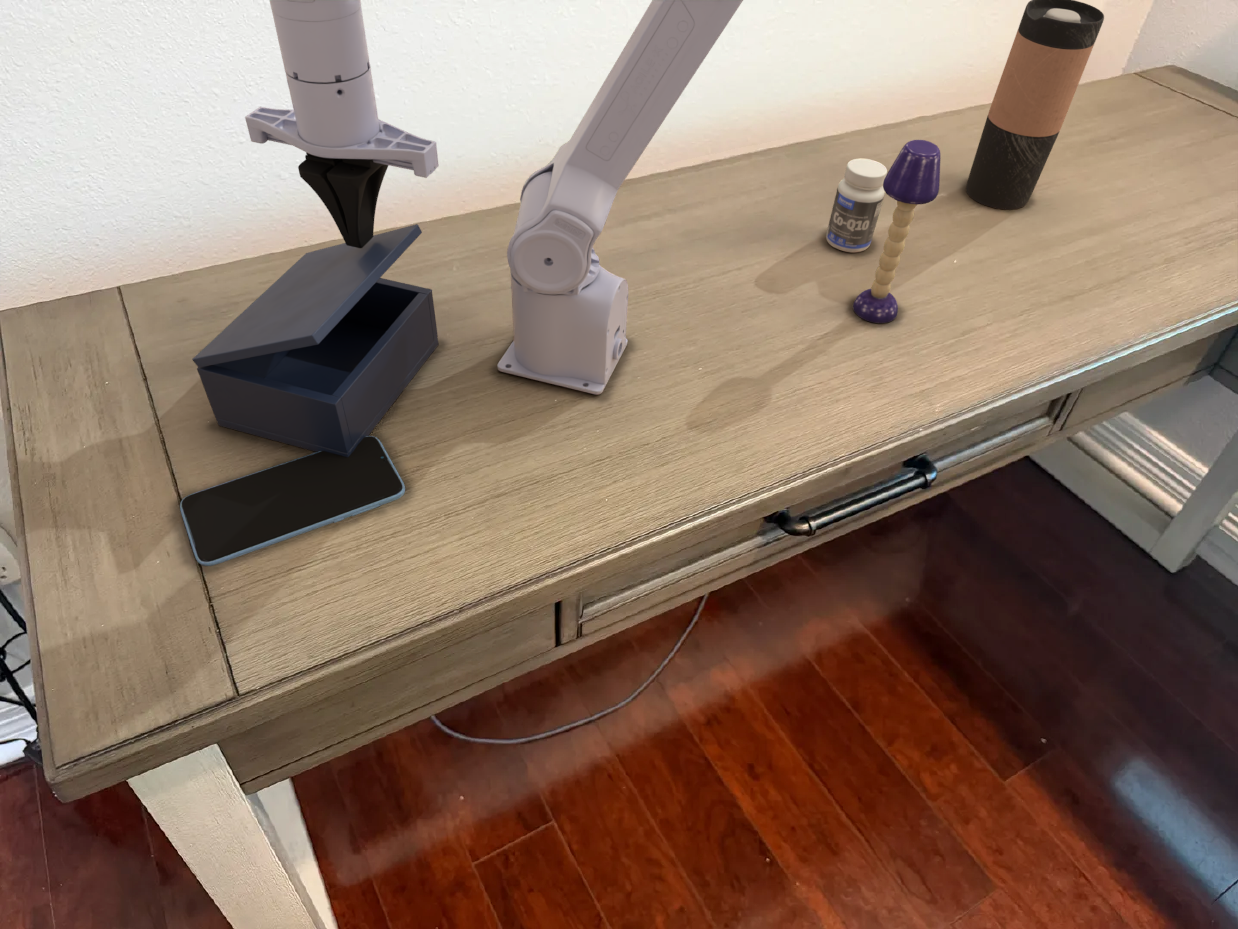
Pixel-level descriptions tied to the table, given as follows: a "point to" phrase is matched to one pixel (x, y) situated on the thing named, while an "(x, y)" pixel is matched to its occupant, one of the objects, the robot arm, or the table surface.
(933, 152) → the toy lamp
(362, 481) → the smartphone
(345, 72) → the robot arm
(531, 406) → the table surface
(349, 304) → the lid
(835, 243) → the pill bottle
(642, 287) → the table surface
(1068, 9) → the travel mug
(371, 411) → the box
